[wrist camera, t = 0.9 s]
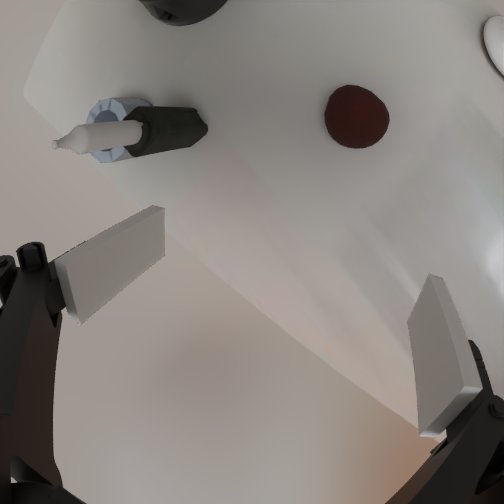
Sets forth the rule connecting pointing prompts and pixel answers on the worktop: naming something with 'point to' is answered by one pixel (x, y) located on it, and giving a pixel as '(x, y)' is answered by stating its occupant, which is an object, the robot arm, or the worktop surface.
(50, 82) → the worktop surface
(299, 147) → the worktop surface
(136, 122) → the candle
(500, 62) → the flower in vase
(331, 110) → the potato
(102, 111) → the pale blue faceted cup
